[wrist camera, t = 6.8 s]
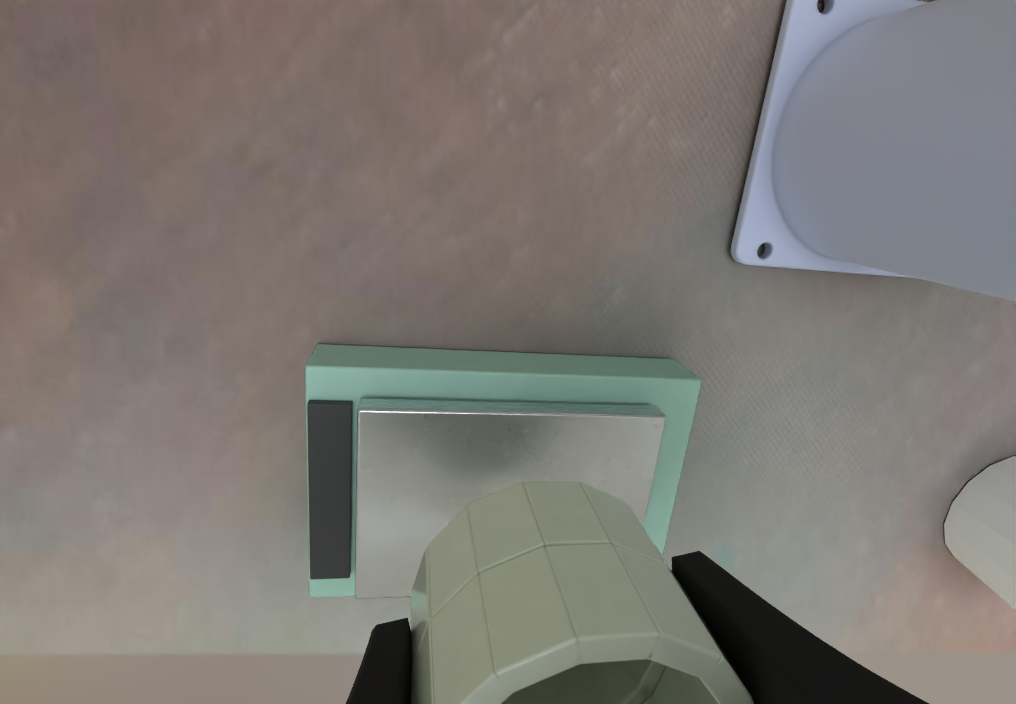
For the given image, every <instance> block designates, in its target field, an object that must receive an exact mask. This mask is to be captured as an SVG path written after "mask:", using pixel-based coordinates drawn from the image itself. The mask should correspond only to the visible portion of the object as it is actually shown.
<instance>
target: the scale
mask: <svg viewBox="0 0 1016 704" xmlns="http://www.w3.org/2000/svg"><path fill="white" fill-rule="evenodd" d="M305 387H306V444H307V502H308V559H309V595H310V597H335V596H355V529H356V462H357V410H358V405H359V401H360V399H363V398H366V399H406V400H446V401H486V402H526V403H566V404H606V405H646V406H657V407H658V408H659V409H660V410H661V411H662V412H663V413H664V414H665V415H666V423H665V428H664V432H663V437H662V442H661V447H660V451H659V456H658V461H657V466H656V470H655V475H654V480H653V485H652V489H651V494H650V499H649V504H648V508H647V513H646V518H645V523H644V528H645V530H646V531H647V532H648V534H649V535H650V537H651V538H652V540H653V541H654V543H655V544H656V546H657V548H658V549H659V551H660V552H661V554H663V550H664V545H665V541H666V536H667V532H668V528H669V523H670V519H671V514H672V510H673V506H674V501H675V497H676V492H677V488H678V484H679V479H680V475H681V470H682V466H683V462H684V457H685V453H686V448H687V444H688V440H689V435H690V431H691V426H692V422H693V418H694V413H695V409H696V404H697V400H698V396H699V391H700V387H701V379H700V378H698V377H697V376H696V375H695V374H693V373H692V372H691V371H689V370H688V369H687V368H685V367H684V366H683V365H681V364H680V363H679V362H678V361H676V360H675V359H659V358H635V357H612V356H588V355H564V354H541V353H517V352H493V351H470V350H446V349H422V348H399V347H375V346H351V345H328V344H318V345H316V347H315V349H314V351H313V353H312V355H311V357H310V359H309V361H308V363H307V365H306V367H305Z"/></svg>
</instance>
